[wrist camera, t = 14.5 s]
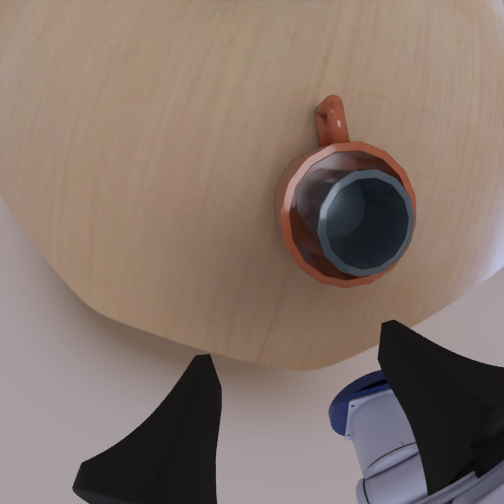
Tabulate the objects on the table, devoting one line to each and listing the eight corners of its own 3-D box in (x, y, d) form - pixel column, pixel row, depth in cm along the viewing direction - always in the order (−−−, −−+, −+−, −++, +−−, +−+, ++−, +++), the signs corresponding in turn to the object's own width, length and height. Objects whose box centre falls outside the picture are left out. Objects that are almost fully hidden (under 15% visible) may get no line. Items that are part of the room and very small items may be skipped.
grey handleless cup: (369, 235, 19) (414, 266, 13) (300, 246, 19) (321, 284, 13) (363, 164, 18) (412, 166, 11) (290, 172, 18) (310, 175, 12)
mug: (383, 250, 20) (415, 273, 15) (282, 267, 21) (291, 298, 16) (369, 106, 17) (401, 92, 12) (258, 114, 17) (260, 97, 12)
